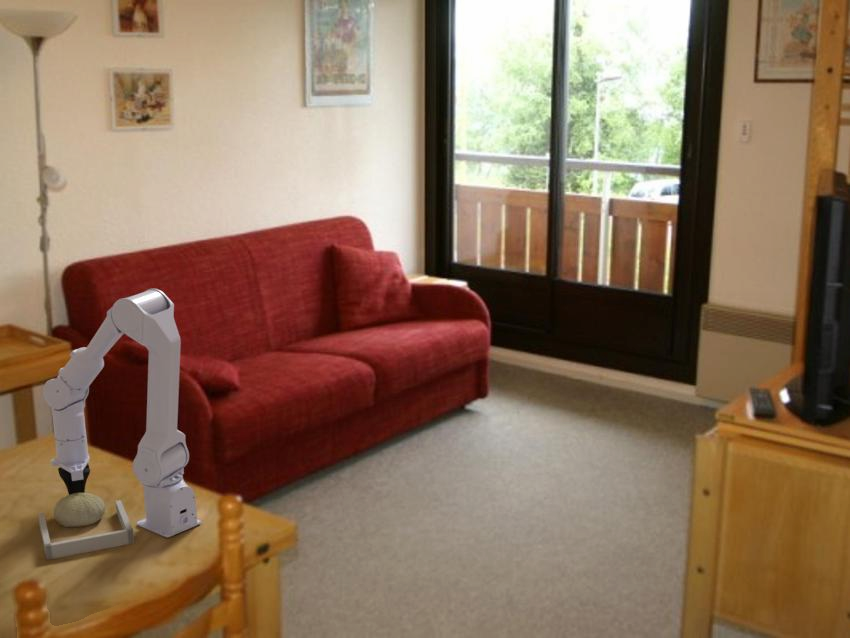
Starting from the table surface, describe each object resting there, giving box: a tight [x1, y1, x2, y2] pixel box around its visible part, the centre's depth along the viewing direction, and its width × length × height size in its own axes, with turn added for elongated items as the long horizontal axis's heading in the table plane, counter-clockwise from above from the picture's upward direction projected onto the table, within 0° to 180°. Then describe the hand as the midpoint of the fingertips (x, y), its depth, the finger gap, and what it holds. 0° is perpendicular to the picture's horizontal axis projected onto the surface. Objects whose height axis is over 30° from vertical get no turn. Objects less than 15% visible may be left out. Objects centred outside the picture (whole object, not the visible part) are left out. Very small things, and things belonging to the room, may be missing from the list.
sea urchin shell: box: [53, 492, 107, 528], centre depth 199 cm, size 9×8×8 cm
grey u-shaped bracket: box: [37, 499, 135, 561], centre depth 193 cm, size 15×15×2 cm
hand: (77, 502), depth 204 cm, fingers closed
